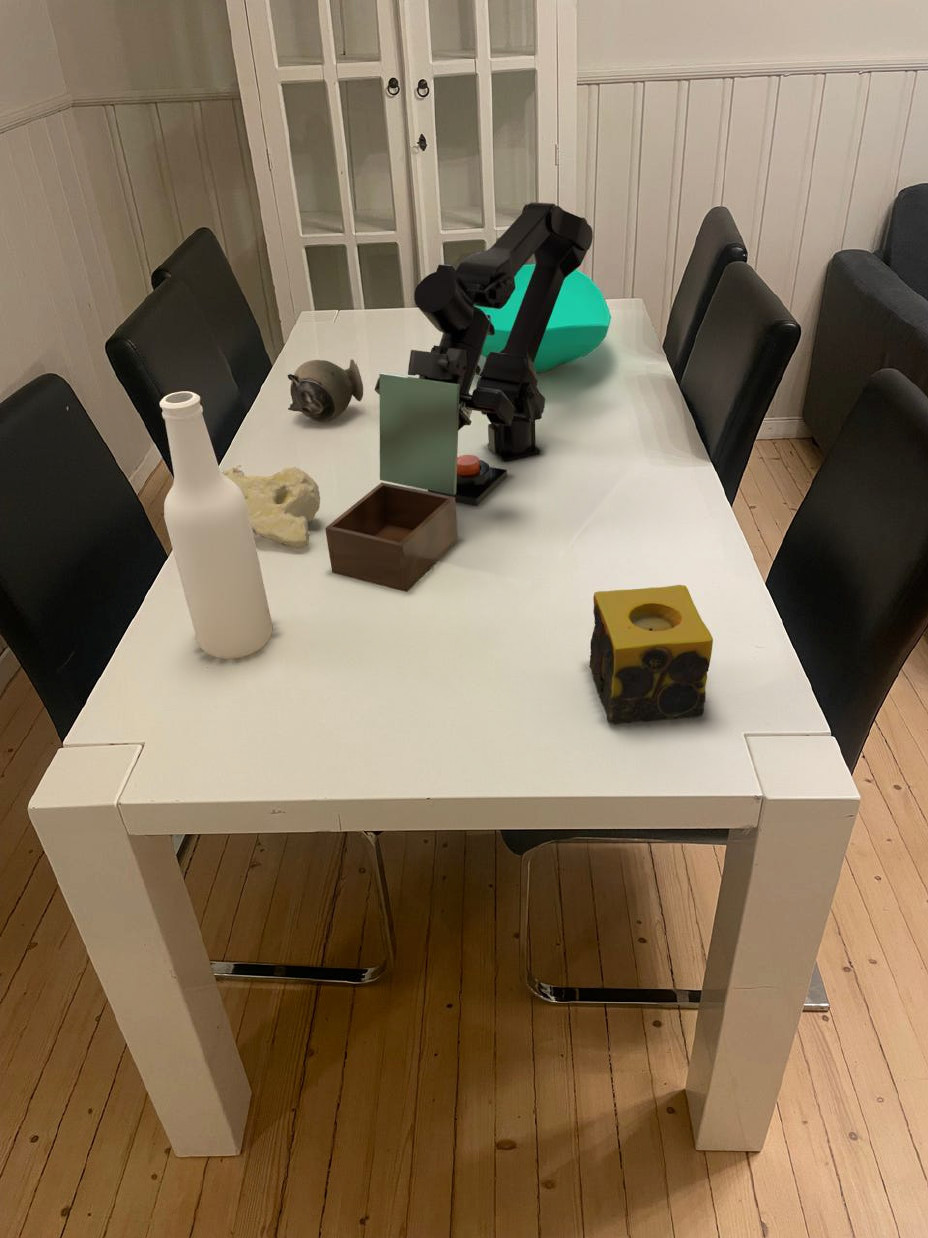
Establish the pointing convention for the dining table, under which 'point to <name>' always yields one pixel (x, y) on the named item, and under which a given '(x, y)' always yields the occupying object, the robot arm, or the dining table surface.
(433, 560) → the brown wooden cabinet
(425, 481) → the sage green panel
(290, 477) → the animal skull
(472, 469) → the button
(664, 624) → the candle
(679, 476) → the dining table surface
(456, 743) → the dining table surface
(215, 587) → the alcohol
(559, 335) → the table top decor
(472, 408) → the robot arm
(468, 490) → the black button base
